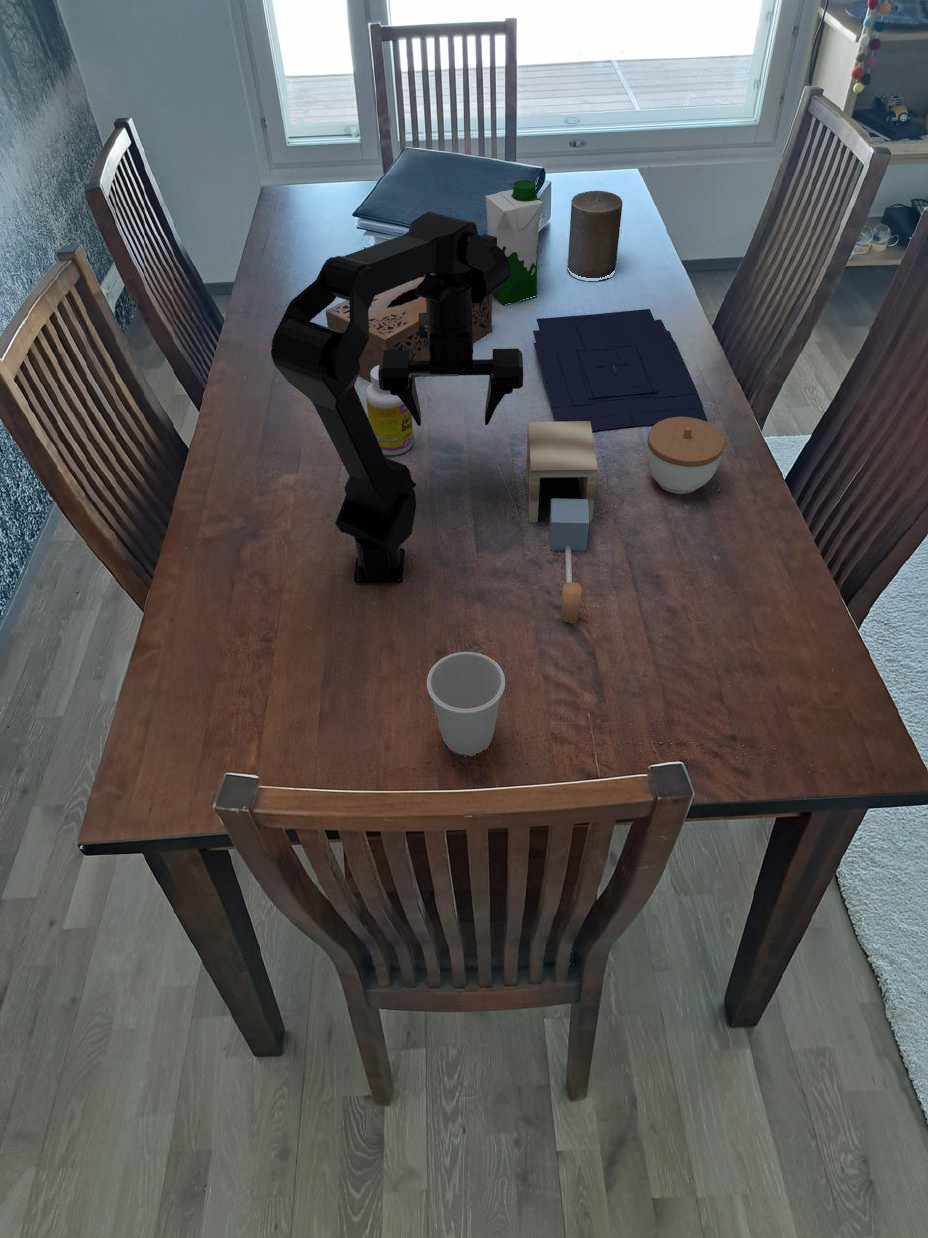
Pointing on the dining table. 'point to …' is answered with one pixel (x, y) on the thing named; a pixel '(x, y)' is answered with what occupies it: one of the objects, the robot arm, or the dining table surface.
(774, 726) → the dining table surface
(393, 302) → the tissue box cover
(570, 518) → the tethered block
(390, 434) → the supplement bottle
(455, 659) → the dixie cup
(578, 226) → the pillar candle
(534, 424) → the cubby lane
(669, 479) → the lidded jar
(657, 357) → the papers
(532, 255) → the milk carton
